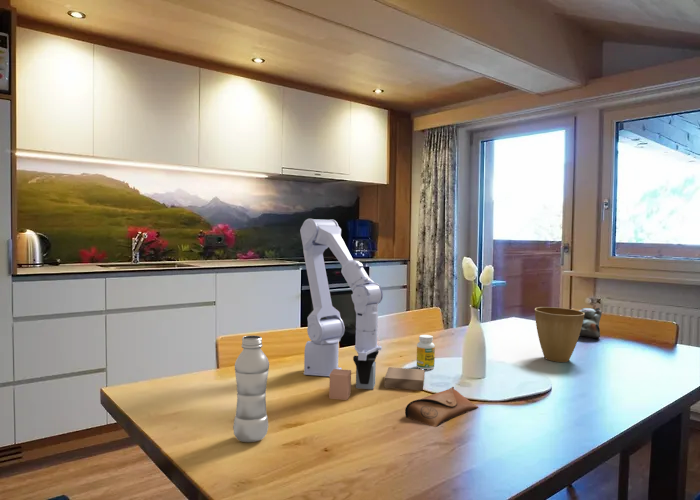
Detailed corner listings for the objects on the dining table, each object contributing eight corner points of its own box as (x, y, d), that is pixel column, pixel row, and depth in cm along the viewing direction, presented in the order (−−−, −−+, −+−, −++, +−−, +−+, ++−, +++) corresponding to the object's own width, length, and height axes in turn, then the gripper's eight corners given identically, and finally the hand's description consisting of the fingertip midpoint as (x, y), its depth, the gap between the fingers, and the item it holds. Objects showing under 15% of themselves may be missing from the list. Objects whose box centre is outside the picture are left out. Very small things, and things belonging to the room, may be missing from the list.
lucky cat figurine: (555, 333, 197) (562, 302, 201) (580, 344, 198) (586, 313, 203) (581, 330, 183) (588, 297, 187) (607, 342, 184) (613, 308, 189)
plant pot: (532, 362, 153) (534, 312, 153) (533, 351, 167) (535, 305, 166) (584, 368, 148) (586, 316, 147) (581, 356, 161) (582, 309, 161)
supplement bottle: (425, 364, 149) (426, 333, 148) (438, 368, 144) (439, 336, 144) (412, 366, 146) (413, 335, 146) (424, 371, 141) (425, 338, 141)
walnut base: (384, 389, 126) (384, 377, 126) (388, 377, 136) (388, 367, 136) (422, 391, 125) (423, 380, 124) (424, 380, 134) (424, 369, 134)
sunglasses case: (436, 427, 101) (423, 396, 103) (412, 435, 105) (401, 405, 107) (481, 407, 113) (469, 379, 115) (458, 414, 118) (447, 388, 120)
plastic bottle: (235, 432, 97) (236, 333, 96) (269, 432, 97) (270, 333, 97) (230, 447, 90) (231, 341, 90) (267, 446, 91) (268, 341, 90)
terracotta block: (329, 398, 118) (329, 374, 117) (333, 392, 122) (333, 368, 122) (347, 400, 117) (347, 375, 116) (350, 393, 121) (351, 370, 121)
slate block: (355, 388, 125) (356, 365, 125) (358, 382, 130) (359, 360, 130) (373, 389, 125) (373, 366, 124) (375, 383, 129) (375, 361, 129)
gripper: (378, 336, 119) (377, 390, 119) (384, 324, 133) (383, 373, 134) (350, 334, 120) (349, 388, 121) (359, 323, 134) (358, 371, 135)
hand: (365, 380), depth 127 cm, fingers closed on slate block, 4 cm apart
